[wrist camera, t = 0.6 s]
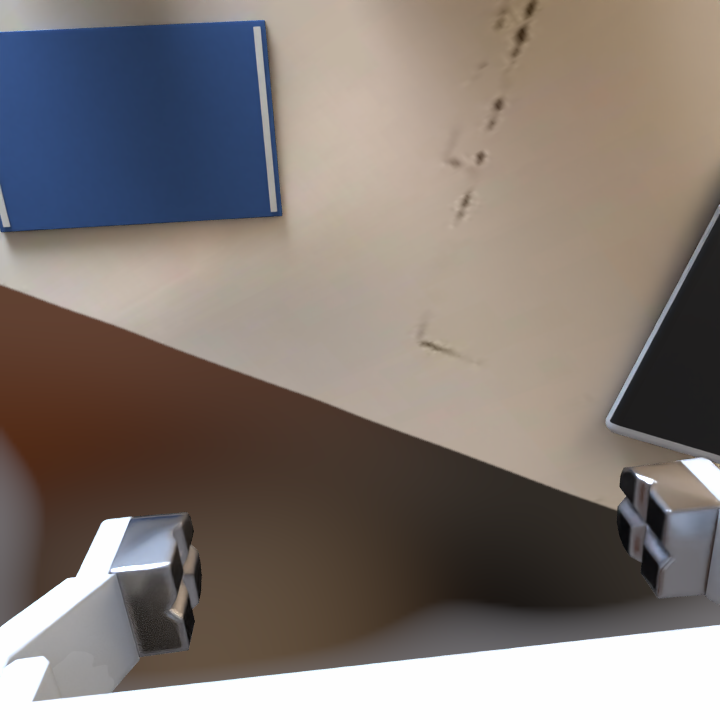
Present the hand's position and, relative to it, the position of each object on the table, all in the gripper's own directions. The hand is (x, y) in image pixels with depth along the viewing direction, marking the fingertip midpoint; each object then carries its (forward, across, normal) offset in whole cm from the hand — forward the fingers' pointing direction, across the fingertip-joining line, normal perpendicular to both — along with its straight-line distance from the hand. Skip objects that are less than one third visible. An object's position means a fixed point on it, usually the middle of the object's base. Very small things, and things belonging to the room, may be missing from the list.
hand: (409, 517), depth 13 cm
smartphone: (+44, -34, +15) cm, 58 cm away
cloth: (+44, +15, -5) cm, 47 cm away
